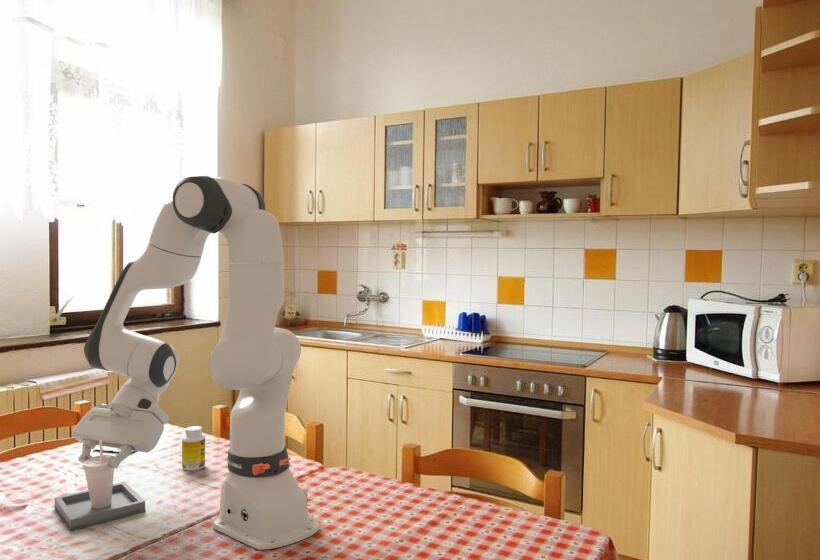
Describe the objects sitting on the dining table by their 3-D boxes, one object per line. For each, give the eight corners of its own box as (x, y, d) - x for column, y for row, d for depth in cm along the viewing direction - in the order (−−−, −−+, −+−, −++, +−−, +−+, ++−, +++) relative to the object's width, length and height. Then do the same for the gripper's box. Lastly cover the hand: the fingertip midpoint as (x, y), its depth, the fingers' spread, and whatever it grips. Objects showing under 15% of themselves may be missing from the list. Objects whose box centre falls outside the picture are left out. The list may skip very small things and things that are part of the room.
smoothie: (103, 513, 123) (100, 447, 121) (77, 509, 124) (73, 444, 123) (124, 499, 129) (122, 436, 128) (99, 496, 130) (96, 434, 129)
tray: (145, 511, 125) (145, 501, 125) (70, 531, 116) (70, 520, 116) (124, 491, 136) (124, 481, 136) (54, 507, 126) (54, 497, 126)
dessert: (121, 440, 175) (121, 423, 174) (157, 443, 172) (157, 426, 172) (91, 453, 163) (91, 435, 163) (130, 456, 160) (130, 439, 160)
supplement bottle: (203, 470, 149) (203, 430, 149) (180, 472, 148) (180, 431, 148) (206, 463, 155) (206, 424, 154) (183, 464, 154) (183, 425, 153)
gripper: (87, 395, 135) (49, 451, 126) (161, 404, 129) (127, 463, 120) (103, 410, 139) (68, 465, 130) (175, 419, 133) (143, 477, 124)
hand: (97, 464), depth 125 cm, fingers closed on smoothie, 6 cm apart
